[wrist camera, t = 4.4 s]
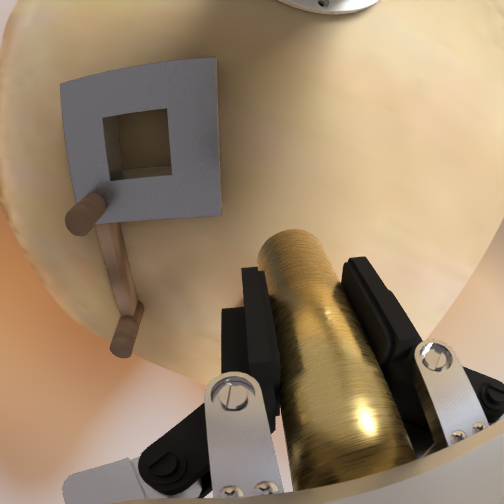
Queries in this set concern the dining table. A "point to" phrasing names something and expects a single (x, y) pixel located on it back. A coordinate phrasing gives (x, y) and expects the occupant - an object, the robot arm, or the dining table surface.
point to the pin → (327, 372)
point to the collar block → (180, 138)
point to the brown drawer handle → (111, 268)
